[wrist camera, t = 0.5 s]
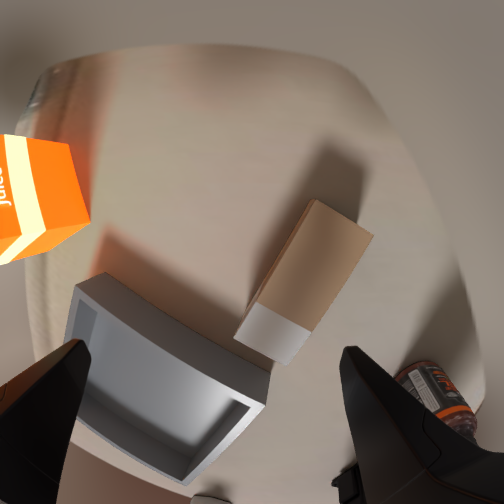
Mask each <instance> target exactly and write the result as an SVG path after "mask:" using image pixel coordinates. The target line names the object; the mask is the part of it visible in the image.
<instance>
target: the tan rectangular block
mask: <svg viewBox="0 0 504 504" xmlns="http://www.w3.org/2000/svg"><path fill="white" fill-rule="evenodd" d="M373 236H374V235H373V234H371V233H370V232H368V231H367V230H365V229H363V228H362V227H360V226H359V225H357V224H356V223H354V222H352V221H351V220H349V219H348V218H346V217H344V216H343V215H341V214H340V213H338V212H336V211H335V210H333V209H331V208H330V207H328V206H326V205H325V204H323V203H321V202H320V201H318V200H316V199H311V200H310V201H309V203H308V205H307V207H306V208H305V210H304V212H303V214H302V215H301V217H300V219H299V221H298V222H297V224H296V226H295V228H294V229H293V231H292V233H291V234H290V236H289V238H288V240H287V241H286V243H285V245H284V246H283V248H282V250H281V252H280V253H279V255H278V257H277V258H276V260H275V262H274V264H273V265H272V267H271V269H270V270H269V272H268V274H267V275H266V277H265V279H264V280H263V282H262V284H261V285H260V287H259V289H258V290H257V292H256V294H255V296H254V297H253V299H252V300H251V302H250V304H249V305H248V307H247V309H246V311H245V313H244V315H243V317H242V320H241V322H240V324H239V326H238V329H237V331H236V333H235V335H234V339H235V340H237V341H239V342H241V343H243V344H244V345H246V346H248V347H250V348H252V349H254V350H256V351H257V352H259V353H261V354H263V355H265V356H267V357H269V358H271V359H273V360H275V361H277V362H279V363H281V364H282V365H284V366H287V365H288V364H289V362H290V361H291V360H292V358H293V357H294V356H295V354H296V353H297V352H298V350H299V349H300V348H301V346H302V345H303V344H304V342H305V341H306V340H307V338H308V337H309V335H310V334H311V333H312V331H313V330H314V328H315V327H316V326H317V324H318V323H319V321H320V320H321V318H322V317H323V315H324V314H325V313H326V311H327V310H328V308H329V307H330V305H331V304H332V302H333V301H334V299H335V298H336V296H337V295H338V293H339V292H340V290H341V289H342V287H343V285H344V284H345V282H346V281H347V279H348V278H349V276H350V274H351V273H352V271H353V270H354V268H355V266H356V265H357V263H358V262H359V260H360V258H361V257H362V255H363V253H364V252H365V250H366V248H367V247H368V245H369V243H370V241H371V240H372V238H373Z"/></svg>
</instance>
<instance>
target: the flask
mask: <svg viewBox="0 0 504 504" xmlns="http://www.w3.org/2000/svg"><path fill="white" fill-rule="evenodd" d="M190 504H231V503H229V502H225V501H222V500H218V499H215V498H212V497H201V496H194V497H193V498H192V500H191V502H190Z"/></svg>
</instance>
